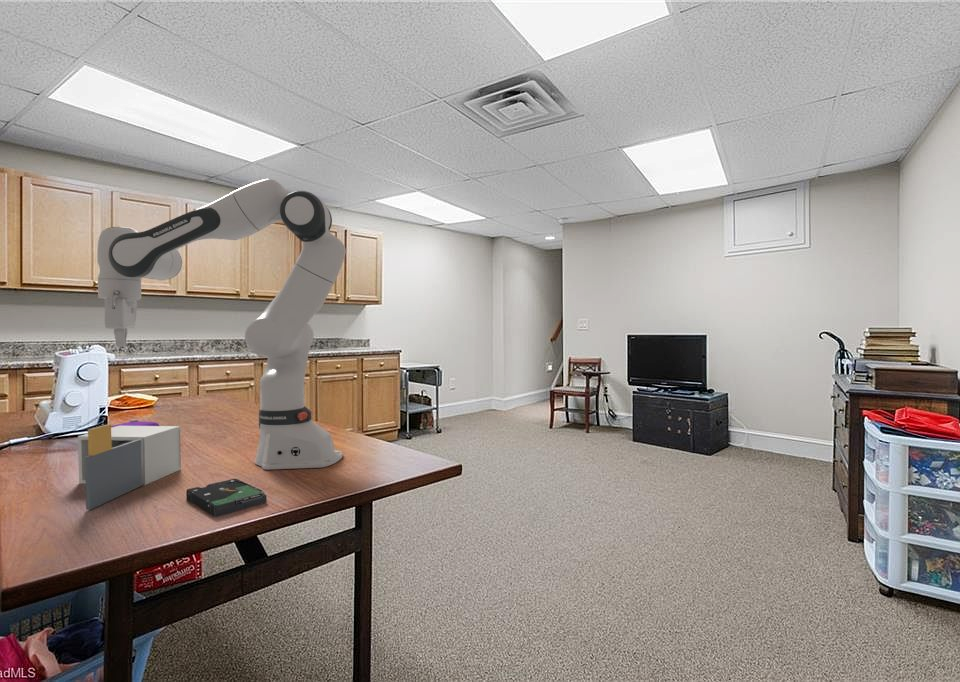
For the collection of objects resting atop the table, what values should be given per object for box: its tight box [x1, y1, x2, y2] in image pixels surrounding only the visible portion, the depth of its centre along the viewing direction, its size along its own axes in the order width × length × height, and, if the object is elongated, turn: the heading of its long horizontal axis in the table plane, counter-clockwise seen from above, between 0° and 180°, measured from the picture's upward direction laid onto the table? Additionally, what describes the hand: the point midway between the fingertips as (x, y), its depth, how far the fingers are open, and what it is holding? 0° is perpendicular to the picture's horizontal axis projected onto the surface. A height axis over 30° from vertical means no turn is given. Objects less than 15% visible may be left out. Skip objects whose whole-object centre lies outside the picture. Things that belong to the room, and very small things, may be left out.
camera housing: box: [77, 425, 182, 486], centre depth 118 cm, size 16×13×11 cm
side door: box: [85, 423, 145, 511], centre depth 103 cm, size 15×1×16 cm, turn 0°
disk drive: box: [185, 478, 267, 518], centre depth 101 cm, size 10×3×15 cm
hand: (121, 346), depth 124 cm, fingers closed
